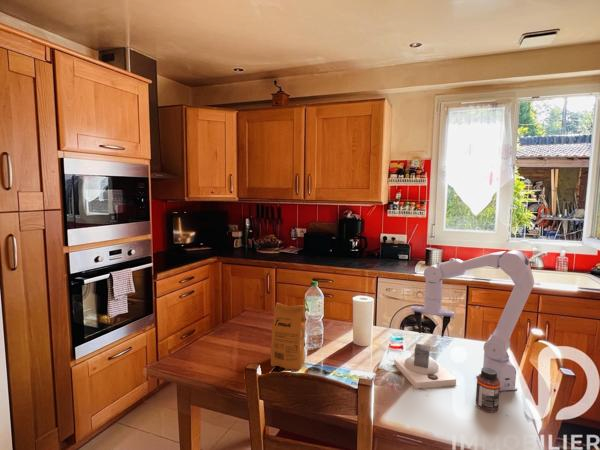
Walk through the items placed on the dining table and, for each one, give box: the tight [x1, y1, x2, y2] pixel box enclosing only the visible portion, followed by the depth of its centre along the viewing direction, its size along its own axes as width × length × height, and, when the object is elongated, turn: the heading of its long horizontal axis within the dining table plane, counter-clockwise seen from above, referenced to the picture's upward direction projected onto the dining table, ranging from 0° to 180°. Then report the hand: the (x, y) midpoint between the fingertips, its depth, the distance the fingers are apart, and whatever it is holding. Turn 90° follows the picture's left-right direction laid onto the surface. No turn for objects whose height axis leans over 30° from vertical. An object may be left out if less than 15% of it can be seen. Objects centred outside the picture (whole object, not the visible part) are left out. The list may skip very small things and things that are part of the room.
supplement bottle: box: [475, 366, 501, 413], centre depth 104 cm, size 6×6×11 cm
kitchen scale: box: [393, 355, 457, 390], centre depth 122 cm, size 16×14×3 cm
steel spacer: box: [413, 343, 431, 368], centre depth 123 cm, size 4×4×6 cm
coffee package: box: [270, 301, 306, 371], centre depth 127 cm, size 10×12×22 cm
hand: (431, 334), depth 130 cm, fingers open, 7 cm apart
